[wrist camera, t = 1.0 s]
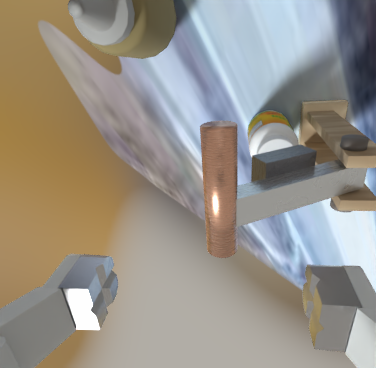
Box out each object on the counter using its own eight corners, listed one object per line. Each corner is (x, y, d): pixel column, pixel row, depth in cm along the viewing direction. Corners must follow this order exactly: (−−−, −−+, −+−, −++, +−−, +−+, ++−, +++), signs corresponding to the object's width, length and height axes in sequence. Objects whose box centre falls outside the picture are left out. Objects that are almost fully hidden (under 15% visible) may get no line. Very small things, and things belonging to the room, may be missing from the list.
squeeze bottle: (109, 40, 36) (12, 45, 21) (126, -35, 33) (24, -98, 17) (168, 67, 37) (117, 92, 21) (192, -3, 33) (153, -36, 17)
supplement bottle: (298, 124, 38) (316, 150, 29) (271, 155, 40) (280, 188, 32) (264, 101, 37) (273, 121, 29) (239, 134, 40) (240, 162, 31)
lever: (185, 119, 21) (209, 133, 17) (341, 92, 25) (386, 99, 22) (194, 232, 25) (215, 261, 22) (326, 192, 30) (360, 211, 26)
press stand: (302, 101, 36) (343, 144, 22) (345, 99, 36) (416, 142, 22) (297, 153, 40) (330, 220, 26) (336, 153, 39) (393, 221, 25)
